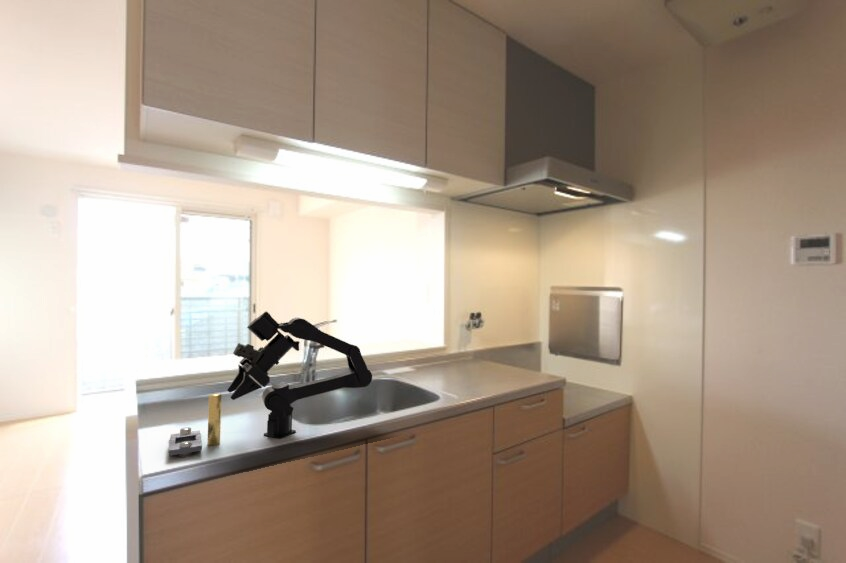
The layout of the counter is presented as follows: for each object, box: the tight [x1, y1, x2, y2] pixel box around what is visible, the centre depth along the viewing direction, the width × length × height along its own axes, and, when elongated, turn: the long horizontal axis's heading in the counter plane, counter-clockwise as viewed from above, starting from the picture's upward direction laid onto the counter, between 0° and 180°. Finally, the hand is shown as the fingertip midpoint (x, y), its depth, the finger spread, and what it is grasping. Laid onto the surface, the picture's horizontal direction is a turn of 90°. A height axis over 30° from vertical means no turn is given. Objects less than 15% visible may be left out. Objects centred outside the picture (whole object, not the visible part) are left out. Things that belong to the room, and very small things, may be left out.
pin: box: [206, 393, 222, 447], centre depth 107 cm, size 3×3×13 cm
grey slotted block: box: [168, 427, 203, 458], centre depth 105 cm, size 17×7×3 cm, turn 31°
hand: (230, 395), depth 110 cm, fingers open, 9 cm apart
